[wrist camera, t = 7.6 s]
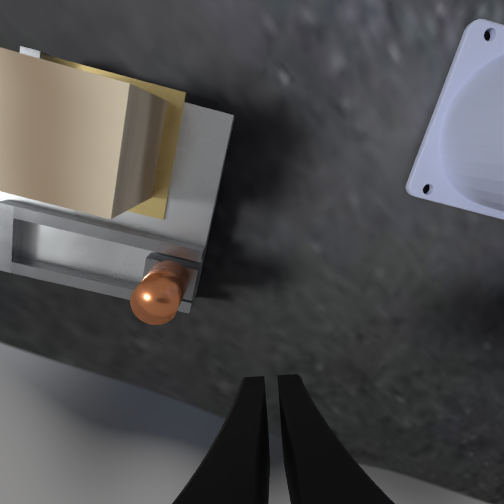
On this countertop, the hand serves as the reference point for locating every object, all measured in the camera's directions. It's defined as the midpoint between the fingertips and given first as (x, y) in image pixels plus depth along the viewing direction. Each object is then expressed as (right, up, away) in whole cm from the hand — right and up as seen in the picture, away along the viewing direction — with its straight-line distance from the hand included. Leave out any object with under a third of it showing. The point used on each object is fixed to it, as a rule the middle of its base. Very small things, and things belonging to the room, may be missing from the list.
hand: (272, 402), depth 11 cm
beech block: (-7, +10, +5) cm, 13 cm away
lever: (-5, +4, +7) cm, 9 cm away
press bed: (-8, +8, +7) cm, 14 cm away
